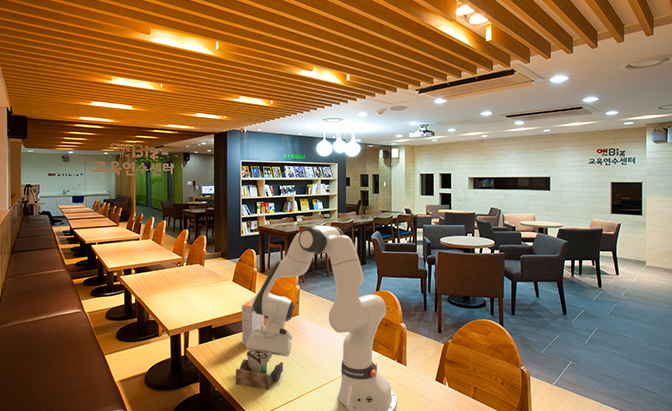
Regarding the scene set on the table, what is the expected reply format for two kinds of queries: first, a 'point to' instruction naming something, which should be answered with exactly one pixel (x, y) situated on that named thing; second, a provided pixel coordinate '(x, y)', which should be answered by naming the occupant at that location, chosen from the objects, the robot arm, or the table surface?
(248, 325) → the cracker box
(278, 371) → the cart bed
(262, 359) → the food container
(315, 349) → the table surface
